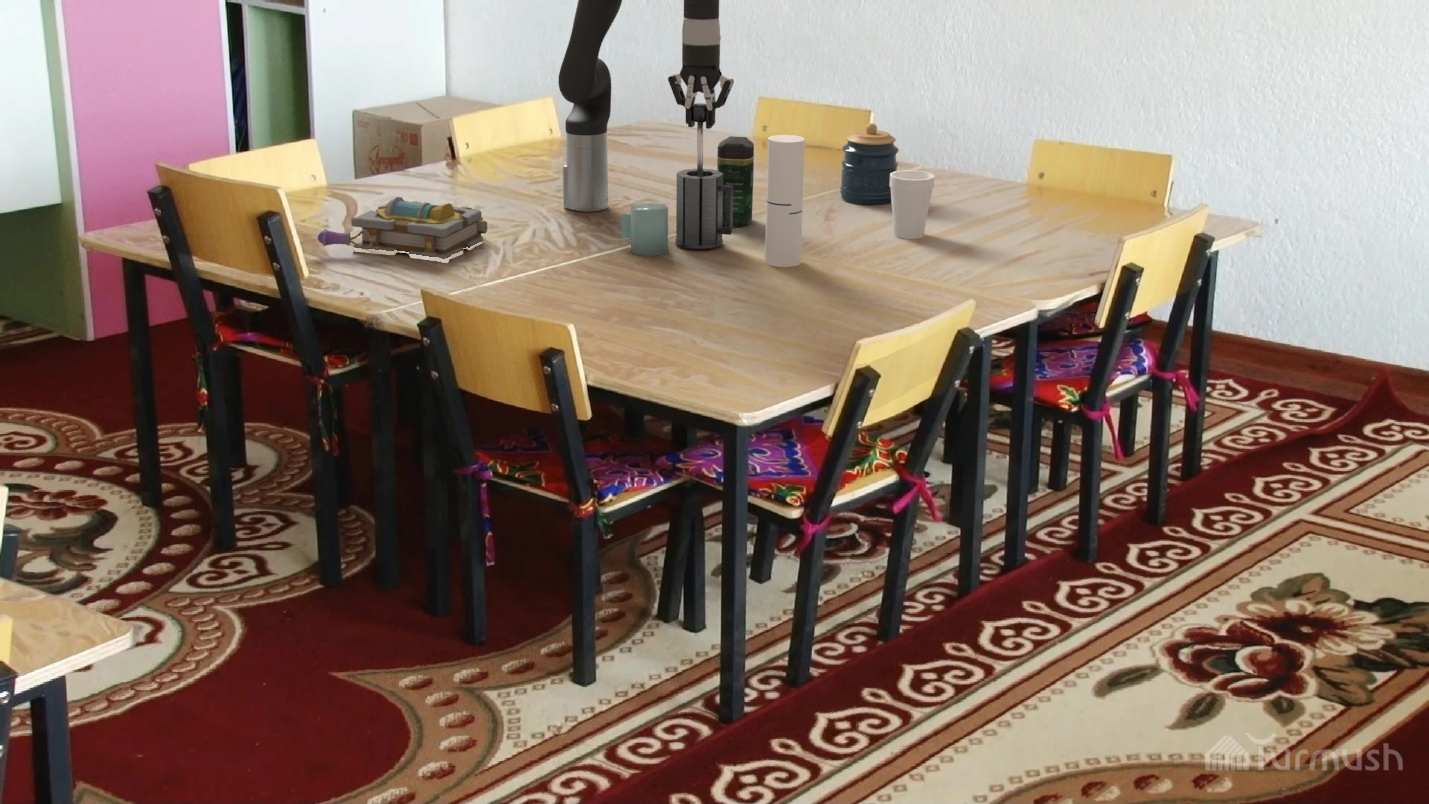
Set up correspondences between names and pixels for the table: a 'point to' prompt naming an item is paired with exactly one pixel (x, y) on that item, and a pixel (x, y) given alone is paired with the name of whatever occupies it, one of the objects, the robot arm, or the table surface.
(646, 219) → the teal mug
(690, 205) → the faceted grey mug
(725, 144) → the coffee jar
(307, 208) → the table surface
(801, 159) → the cylindrical container
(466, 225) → the decorative book
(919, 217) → the foam cup
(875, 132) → the canister
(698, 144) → the plunger
